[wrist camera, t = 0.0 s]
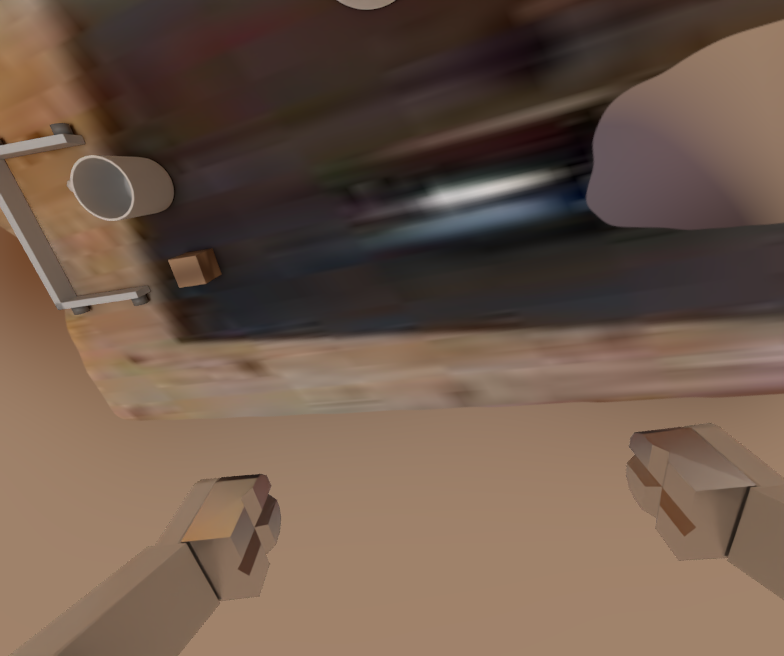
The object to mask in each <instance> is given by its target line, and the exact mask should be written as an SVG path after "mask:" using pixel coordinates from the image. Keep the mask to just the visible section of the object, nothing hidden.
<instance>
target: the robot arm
mask: <svg viewBox="0 0 784 656" xmlns="http://www.w3.org/2000/svg"><path fill="white" fill-rule="evenodd" d="M337 1H339V2H340V3H342V4H344V5H346V6H349V7H352V8H356V9H363V10H370V9H377V8H381V7H384V6H386V5H388V4H390V3H392V2H394V1H395V0H337ZM629 448H630V449H631V450H632V451H633V452H634V454H635V455H634V456H633V457H632V458H631V459H630V460H629V461H628V462H627V469H626V477H627V481H628V486H629V489H630V491H631V493H632V495H633V497H634V499H635V500H636V502H637V503H638V505H639V506H640V507H641V509H642V510H644V511H646V512H647V513H649V514H651V515H652V516H654V517H656V530H657V531H658V533H659V534H660V535H661V537H662V538H663V540H664V541H665V542H666V544H667V545H668V547H669V548H670V549H671V550H672V552H673V553H674V555H675V556H676V558H677V559H678V560H680V561H681V560H697V559H716V558H728V559H727V561H728V562H730V563H731V564H733V565H734V566H736V567H737V568H739V569H740V570H741V571H743V572H745V573H746V574H747V575H749V576H750V577H752V578H753V579H755V580H756V581H757V582H759V583H760V584H761V585H763V586H764V587H766V588H767V589H769V590H770V591H772V592H773V593H774V594H776V595H777V596H779V597H780V598H782V599H783V600H784V478H783V477H782V476H781V475H780V474H778V473H777V472H776V471H775V470H773V469H772V468H771V467H770V466H768V465H767V464H766V463H765V462H763V461H762V460H761V459H760V458H758V457H757V456H756V455H754V454H753V453H752V452H751V451H750V450H748V449H747V448H746V447H744V446H743V445H742V444H741V443H739V442H738V441H737V440H736V439H734V438H733V437H732V436H731V435H729V434H728V433H727V432H726V431H724V430H723V429H722V428H721V427H719V426H717V425H714V424H711V423H707V424H699V425H691V426H685V427H677V428H668V429H659V430H651V431H642V432H635V433H634V434H633V435H632V436H631V438H630V445H629ZM270 488H271V484H270V482H269V479H268V477H267V475H263V474H257V475H244V476H232V477H222V478H215V479H203V480H200V481H198V482H197V483H195V484H194V485H193V487H192V488H191V490H190V491H189V493H188V494H187V496H186V498H185V499H184V501H183V502H182V504H181V505H180V507H179V508H178V510H177V512H176V513H175V515H174V516H173V518H172V519H171V521H170V522H169V524H168V525H167V527H166V529H165V530H164V532H163V533H162V535H161V536H160V538H159V540H158V541H157V543H156V544H155V546H150V547H146V548H145V549H144V550H143V551H141V552H140V553H139V554H137V555H136V556H135V557H134V558H132V559H131V560H130V561H129V562H127V563H126V564H125V565H123V566H122V567H121V568H120V569H118V570H117V571H116V572H115V573H113V574H112V575H111V576H109V577H108V578H107V579H106V580H104V581H103V582H102V583H100V584H99V585H98V586H97V587H95V588H94V589H93V590H92V591H91V592H89V593H88V594H87V595H85V596H84V597H83V598H81V599H80V600H79V601H78V602H76V603H75V604H74V605H72V606H71V607H70V608H69V609H67V610H66V611H65V612H64V613H62V614H61V615H60V616H58V617H57V618H56V619H55V620H53V621H52V622H51V623H50V624H48V625H47V626H46V627H45V628H43V629H42V630H41V631H40V632H38V633H37V634H36V635H34V636H33V637H32V638H30V639H29V640H28V641H27V642H25V643H24V644H23V645H22V646H20V647H19V648H18V649H16V650H15V651H14V652H13V653H11V654H10V655H9V656H178V655H179V654H180V652H181V651H182V650H183V649H184V648H185V646H186V645H187V644H188V643H189V641H190V640H191V639H192V638H193V636H194V635H195V634H196V633H197V632H198V630H199V629H200V628H201V627H202V625H203V624H204V623H205V622H206V620H207V619H208V618H209V617H210V615H211V614H212V613H213V612H214V611H215V609H216V608H217V607H218V606H219V604H220V602H219V601H225V600H234V599H241V598H250V597H258V596H260V593H261V589H262V586H263V584H264V581H265V577H266V574H267V571H268V568H269V565H270V563H269V561H268V558H267V555H266V554H267V553H268V552H269V551H270V550H271V549H272V548H273V547H274V546H275V545H276V543H277V540H278V536H279V533H280V525H281V514H280V507H279V504H278V502H277V500H276V499H275V498H273V497H272V496H271V495H269V494H268V493H269V490H270Z"/></svg>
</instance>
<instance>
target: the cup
mask: <svg viewBox="0 0 784 656" xmlns="http://www.w3.org/2000/svg"><path fill="white" fill-rule="evenodd" d="M67 187H68V188H69V189H70V190H71V191H72V192H74V195H75V197H76V198H77V200H78V201H79V203H80V204H81V205H82V206H83V207H84V208H85V209H86V210H87V211H88V212H90V213H91V214H92V215H94V216H96V217H98V218H100V219H103V220H108V221H116V220H122V219H127V218H133V217H138V216H143V215H149V214H154V213H158V212H161V211H163V210H166V209H167V208H168V207H169V206H170V204H171V203H172V201H173V197H174V187H173V183H172V180H171V178H170V176H169V175H168V173H167V172H166V171H165V169H164V168H163V167H162V166H160V165H159V164H158V163H157V162H155V161H152V160H150V159H147V158H142V157H125V156H100V155H92V156H85V157H83V158H80V159H79V160H78V161H77V162H76V163H75V164H74V166H73V168H72V170H71V177H70V180H68V182H67Z"/></svg>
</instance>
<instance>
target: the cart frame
mask: <svg viewBox="0 0 784 656" xmlns="http://www.w3.org/2000/svg"><path fill="white" fill-rule="evenodd" d="M50 127H51V129H52V131H53V133H54V135H53V136H48V137H43V138H37V139H32V140H27V141H21V142H16V143H11V144H6V145H3V143H2V141H1V139H0V207H1V209H2V211H3V212H4V214H5V216H6V218H7V220H8V221H9V223H10V225H11V227H12V228H13V230H14V232H15V234H16V236H17V237H18V239H19V241H20V243H21V244H22V246H23V248H24V250H25V251H26V253H27V255H28V257H29V259H30V261H31V262H32V264H33V266H34V268H35V269H36V271H37V273H38V275H39V277H40V278H41V280H42V282H43V284H44V285H45V287H46V289H47V291H48V292H49V294H50V296H51V298H52V300H53V302H54V303H55V305H56V307H57V309H58V310H61V309H68V308H71V309H72V311H73V313H74V315H78V314H82V313H85V312H88V311H90V309H89V308H88V305H95V304H101V303H108V302H114V301H121V300H128V299H131V300H132V302H133V304H134V306H138V305H142V304H145V303H147V302H149V301H148V299H147V297H146V294H147V293H149V292H151V291H150V289H149V287H148V286H142V287H135V288H129V289H122V290H116V291H109V292H103V293H96V294H90V295H83V296H76V294H75V292H74V290H73V288H72V286H71V284H70V283H69V281H68V279H67V277H66V275H65V273H64V271H63V269H62V267H61V266H60V264H59V262H58V260H57V258H56V256H55V254H54V252H53V251H52V249H51V247H50V245H49V243H48V241H47V239H46V237H45V235H44V234H43V232H42V230H41V228H40V226H39V224H38V222H37V220H36V218H35V217H34V215H33V213H32V211H31V209H30V207H29V205H28V203H27V201H26V200H25V198H24V196H23V194H22V192H21V190H20V188H19V186H18V185H17V183H16V181H15V179H14V177H13V175H12V173H11V171H10V169H9V168H8V166H7V164H6V162H5V160H4V159H7V158H12V157H18V156H23V155H28V154H34V153H39V152H44V151H50V150H55V149H61V148H66V147H71V146H77V145H82V144H85V142H84V140H83V137H82V136H81V135H74V134H73V132H72V130H71V128H70V125H69V124H66V123H57V124H51V125H50Z"/></svg>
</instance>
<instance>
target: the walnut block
mask: <svg viewBox="0 0 784 656" xmlns="http://www.w3.org/2000/svg"><path fill="white" fill-rule="evenodd" d="M168 261H169V264H170V266H171V269H172V271H173V273H174V276H175V278H176V281H177V283H178V286H179V288H181V287H187V286H194V285H200V284H206V283H208V282H210V281H211V280H213V279H214V278H216V277H218V276H219V275H221V271H220V269H219V266H218V263H217V260H216V257H215V254H214V252H213V249H206V250H199V251H193V252H187V253H184V254H182V255H180V256H177V257H175V258H172V259H170V260H168Z"/></svg>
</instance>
